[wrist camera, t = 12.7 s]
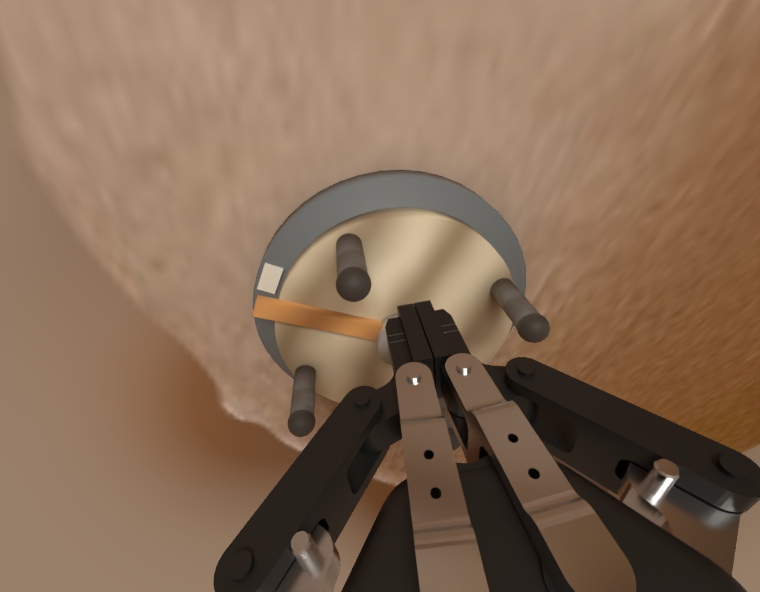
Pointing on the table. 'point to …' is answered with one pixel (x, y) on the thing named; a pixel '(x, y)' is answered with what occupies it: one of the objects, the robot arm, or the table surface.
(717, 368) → the table surface
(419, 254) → the capstan dial
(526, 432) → the robot arm
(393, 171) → the dial base
